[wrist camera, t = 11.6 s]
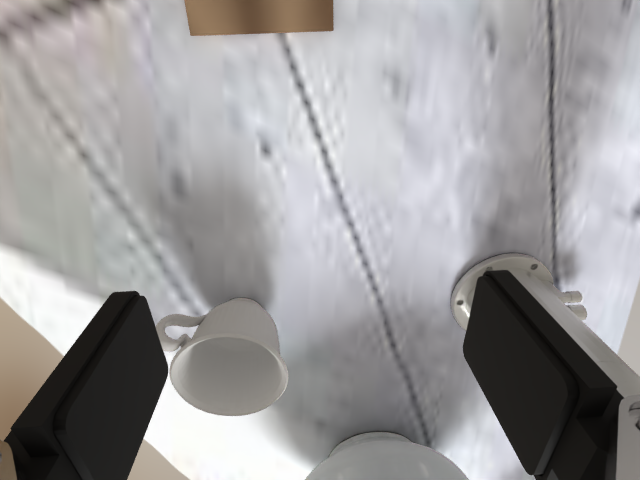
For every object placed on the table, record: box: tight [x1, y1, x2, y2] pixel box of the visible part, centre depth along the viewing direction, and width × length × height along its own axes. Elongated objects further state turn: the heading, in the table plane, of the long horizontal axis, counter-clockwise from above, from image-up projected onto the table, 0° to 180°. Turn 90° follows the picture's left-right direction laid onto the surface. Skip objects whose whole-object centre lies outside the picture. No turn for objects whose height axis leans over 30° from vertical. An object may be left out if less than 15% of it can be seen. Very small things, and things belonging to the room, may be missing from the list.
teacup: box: [156, 298, 288, 416], centre depth 41 cm, size 12×15×10 cm
